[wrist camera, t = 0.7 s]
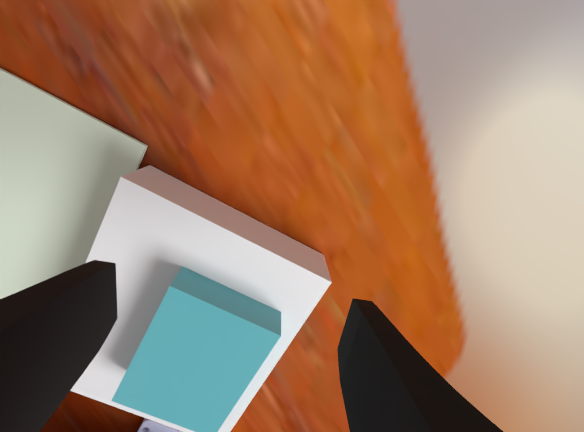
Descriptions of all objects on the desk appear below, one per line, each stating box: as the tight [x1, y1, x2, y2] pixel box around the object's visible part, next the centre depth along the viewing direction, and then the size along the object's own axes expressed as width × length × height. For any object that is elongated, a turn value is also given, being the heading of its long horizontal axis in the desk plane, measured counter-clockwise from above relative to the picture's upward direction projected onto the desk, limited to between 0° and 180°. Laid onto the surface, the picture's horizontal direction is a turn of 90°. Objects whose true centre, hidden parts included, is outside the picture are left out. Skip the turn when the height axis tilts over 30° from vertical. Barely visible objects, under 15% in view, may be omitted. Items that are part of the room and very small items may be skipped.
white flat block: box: [70, 165, 331, 432], centre depth 20 cm, size 14×12×4 cm
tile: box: [111, 266, 281, 432], centre depth 17 cm, size 8×6×2 cm
